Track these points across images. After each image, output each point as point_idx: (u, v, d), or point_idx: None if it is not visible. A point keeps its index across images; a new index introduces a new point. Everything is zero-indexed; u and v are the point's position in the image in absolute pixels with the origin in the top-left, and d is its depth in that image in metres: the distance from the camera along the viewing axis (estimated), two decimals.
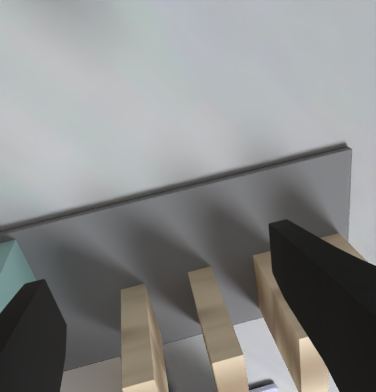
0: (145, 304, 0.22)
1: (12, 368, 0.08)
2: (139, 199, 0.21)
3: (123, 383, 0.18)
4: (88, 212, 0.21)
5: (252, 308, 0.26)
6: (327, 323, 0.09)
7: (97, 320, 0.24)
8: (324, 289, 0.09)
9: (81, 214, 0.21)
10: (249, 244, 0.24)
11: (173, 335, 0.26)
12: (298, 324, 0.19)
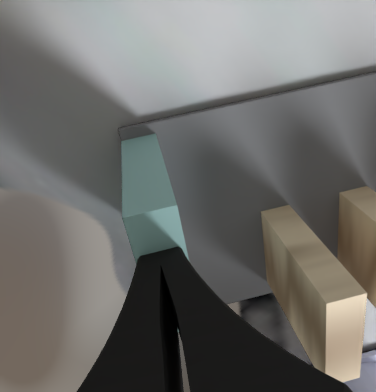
0: (303, 223, 0.18)
1: (164, 328, 0.08)
2: (306, 88, 0.17)
3: (325, 298, 0.13)
4: (244, 102, 0.17)
5: None
6: None
7: (226, 251, 0.20)
8: None
9: (236, 103, 0.17)
10: None
11: None
12: None
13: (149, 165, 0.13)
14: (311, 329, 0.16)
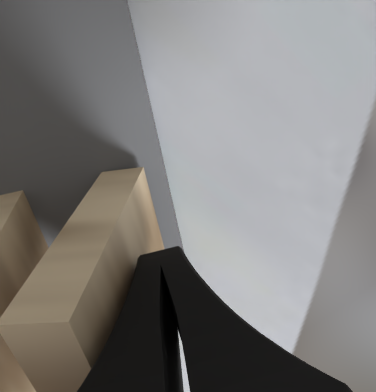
0: None
1: (164, 328, 0.08)
2: None
3: None
4: None
5: None
6: None
7: None
8: None
9: None
10: None
11: None
12: None
13: None
14: None
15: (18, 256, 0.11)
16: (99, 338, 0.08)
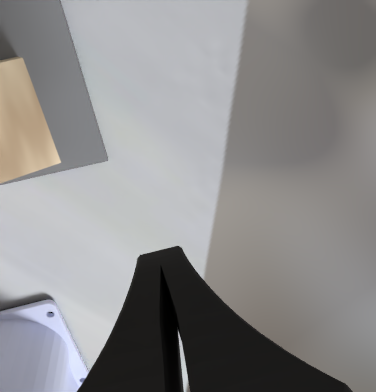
0: None
1: (164, 328, 0.08)
2: None
3: None
4: None
5: None
6: None
7: None
8: None
9: None
10: None
11: None
12: None
13: None
14: None
15: None
16: None
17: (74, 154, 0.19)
